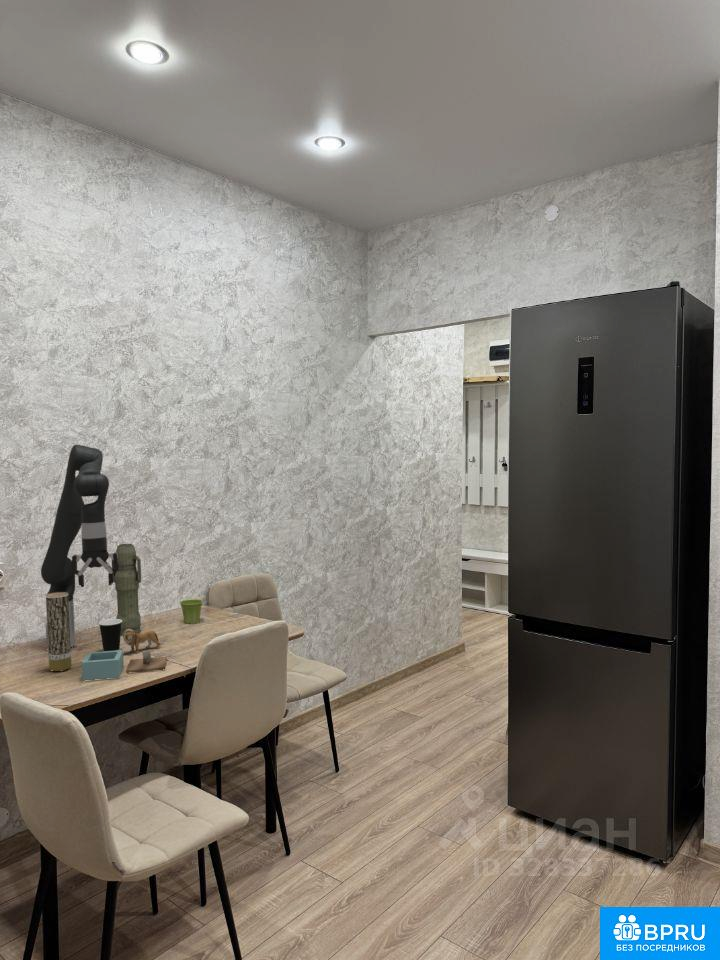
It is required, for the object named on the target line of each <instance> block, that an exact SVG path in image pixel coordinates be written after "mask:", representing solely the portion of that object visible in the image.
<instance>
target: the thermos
mask: <svg viewBox="0 0 720 960" xmlns="http://www.w3.org/2000/svg"><path fill="white" fill-rule="evenodd" d="M115 552H117V553H118V561H119V570H118V571H116V572H114V582H113V584H114V588H115V591H116V604H117V608H116V609H117V616H116V618H115V619H120V620H122V622H121V635H120V637H123V633H124V631H125V630H127V629H132V630H134V631H137V632H138V633H142V632H141V624H142V622H141V614H140V611H139V610H140V609H139V608H140V607H139V588H140V583H141V582H142V563H141V558H140V557H139V556H138V555H137V551H136V548H135V546H134V544H132V543H119V545H117V546H116V549H115ZM111 568H112V569H113V568H114V560H112V559H111Z"/></svg>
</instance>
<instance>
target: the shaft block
mask: <svg viewBox="0 0 720 960" xmlns="http://www.w3.org/2000/svg"><path fill="white" fill-rule="evenodd" d="M151 654H152V652H151V651H144V652H142V658H133V659H130V660H129V662H128V665H127V667H126V670H125V674H126V673H127V674H130V673H129V672H139V673H144V672H143V671H151V672H154V671H153V670H162V671H164V670H163V669H165V670H166V667H167V662H168V656H159V657H151V656H152V655H151ZM166 661H167V662H166ZM165 666H166V667H165Z"/></svg>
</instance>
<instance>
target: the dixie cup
mask: <svg viewBox="0 0 720 960" xmlns="http://www.w3.org/2000/svg"><path fill="white" fill-rule="evenodd" d="M121 622H122V620H120V619H116V618H109V619H105V620H100V621H99V622H98V625H99V630H100V636H101V642H102V649H103V652H104V651H117V650H120V648H121V636H120V635H121Z"/></svg>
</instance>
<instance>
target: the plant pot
mask: <svg viewBox="0 0 720 960" xmlns="http://www.w3.org/2000/svg"><path fill="white" fill-rule="evenodd" d="M203 603H204V600H202V599H193V598H192V599H184V600H181V601H180V602H179V604H180V608H181V609H182V616H183V622H184V624H186V623H188V624H191V623H194V624H198V623H199V622H200V619H201V612H202V611H201V610H202V606H203ZM197 622H198V623H197Z"/></svg>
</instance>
